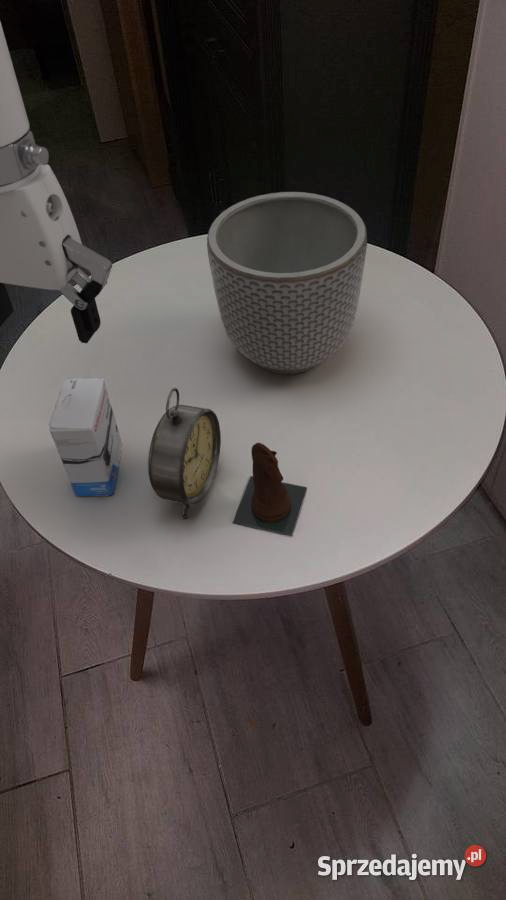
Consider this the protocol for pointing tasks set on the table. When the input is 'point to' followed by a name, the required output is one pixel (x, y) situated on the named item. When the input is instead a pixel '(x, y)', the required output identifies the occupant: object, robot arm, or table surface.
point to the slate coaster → (282, 526)
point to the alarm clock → (184, 453)
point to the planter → (287, 277)
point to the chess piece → (268, 486)
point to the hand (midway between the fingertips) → (46, 326)
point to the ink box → (87, 436)
